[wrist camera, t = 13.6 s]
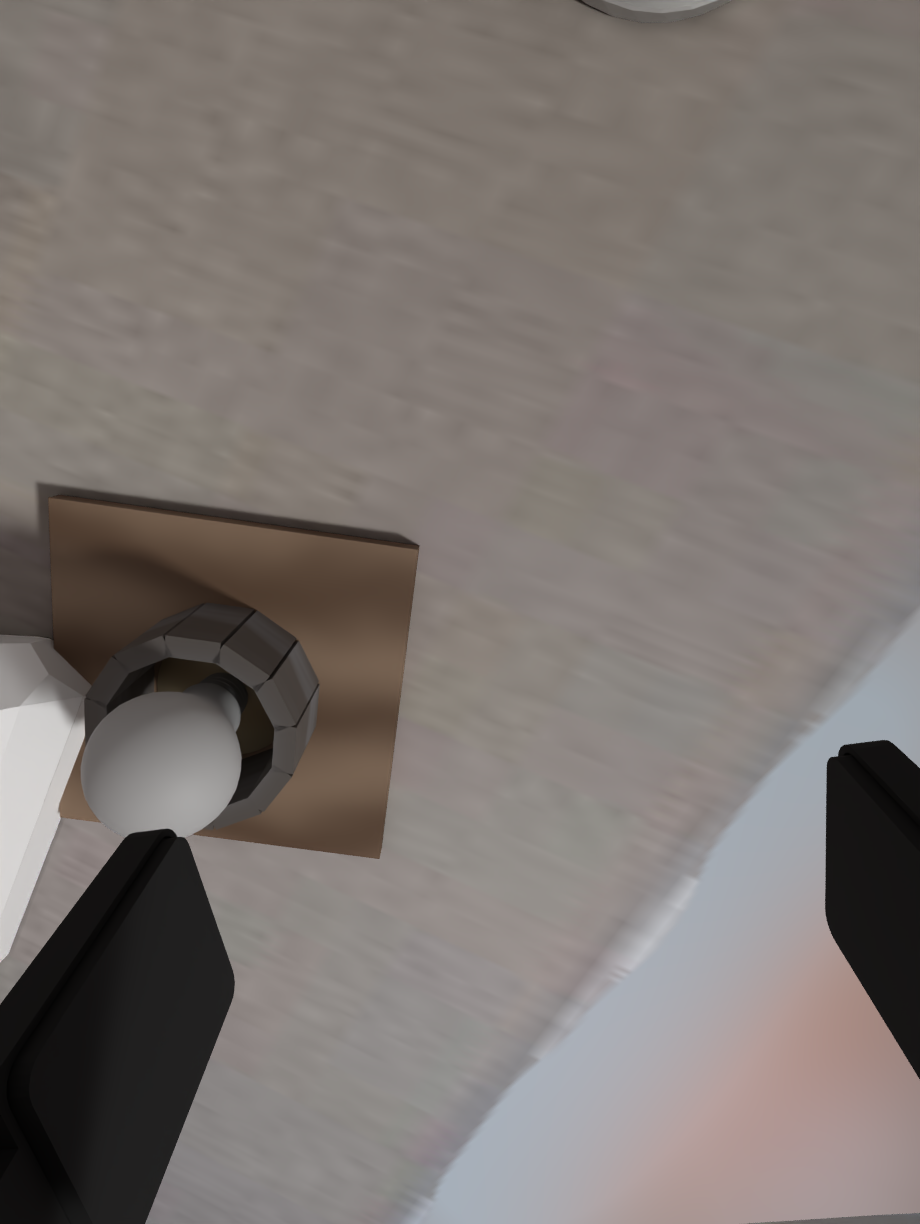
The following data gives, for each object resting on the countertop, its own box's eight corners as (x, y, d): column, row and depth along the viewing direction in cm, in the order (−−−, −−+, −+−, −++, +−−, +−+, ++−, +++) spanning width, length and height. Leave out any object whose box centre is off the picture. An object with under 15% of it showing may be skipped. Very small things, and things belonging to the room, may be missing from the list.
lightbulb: (203, 756, 38) (99, 894, 27) (149, 656, 36) (16, 763, 26) (306, 720, 37) (239, 848, 27) (255, 616, 36) (162, 710, 25)
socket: (59, 494, 35) (-22, 514, 29) (419, 545, 35) (408, 575, 30) (69, 807, 40) (2, 875, 35) (381, 847, 41) (366, 922, 35)
